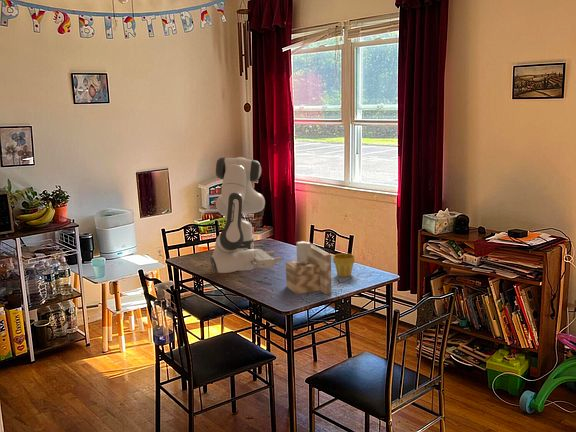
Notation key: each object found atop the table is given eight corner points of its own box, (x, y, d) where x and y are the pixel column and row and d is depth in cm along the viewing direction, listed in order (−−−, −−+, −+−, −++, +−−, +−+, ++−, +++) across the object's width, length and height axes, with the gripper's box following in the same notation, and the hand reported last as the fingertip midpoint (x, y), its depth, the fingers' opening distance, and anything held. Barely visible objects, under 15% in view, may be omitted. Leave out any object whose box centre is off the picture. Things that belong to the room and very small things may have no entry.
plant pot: (336, 278, 280) (336, 259, 278) (331, 272, 290) (331, 254, 288) (357, 277, 281) (356, 257, 279) (351, 271, 291) (351, 252, 289)
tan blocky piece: (300, 298, 254) (299, 258, 250) (282, 283, 276) (280, 246, 273) (331, 293, 259) (330, 254, 256) (311, 278, 281) (310, 243, 278)
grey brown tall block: (299, 273, 263) (298, 243, 261) (297, 271, 266) (296, 242, 264) (311, 271, 265) (310, 242, 263) (308, 269, 268) (308, 240, 266)
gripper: (254, 258, 245) (285, 254, 249) (241, 247, 264) (270, 244, 268) (255, 272, 246) (285, 268, 251) (242, 261, 265) (270, 257, 270)
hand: (277, 256), depth 260 cm, fingers open, 8 cm apart
